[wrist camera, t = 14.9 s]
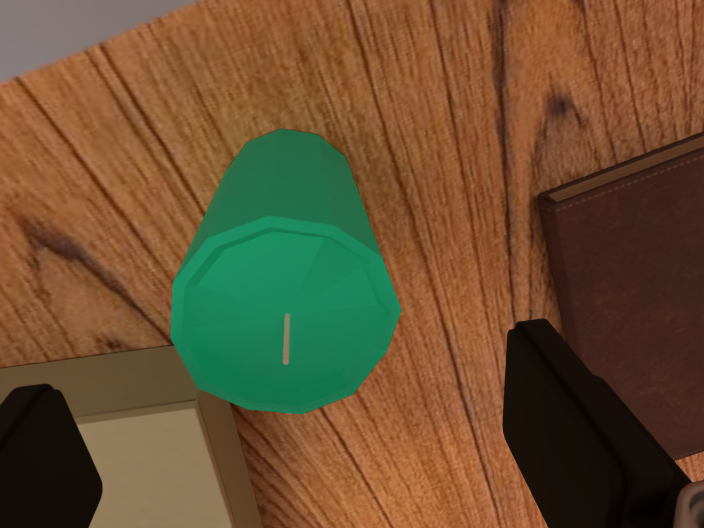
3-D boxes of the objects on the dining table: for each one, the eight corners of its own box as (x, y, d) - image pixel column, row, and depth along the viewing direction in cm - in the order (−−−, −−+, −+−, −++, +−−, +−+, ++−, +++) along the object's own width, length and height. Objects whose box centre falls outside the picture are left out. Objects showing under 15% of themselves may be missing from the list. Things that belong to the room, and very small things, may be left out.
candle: (280, 279, 24) (266, 490, 13) (193, 183, 21) (88, 346, 11) (382, 209, 23) (459, 376, 12) (303, 98, 20) (312, 185, 10)
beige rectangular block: (90, 586, 32) (57, 677, 28) (-30, 371, 24) (-103, 450, 20) (272, 558, 33) (267, 642, 29) (213, 339, 25) (195, 408, 20)
